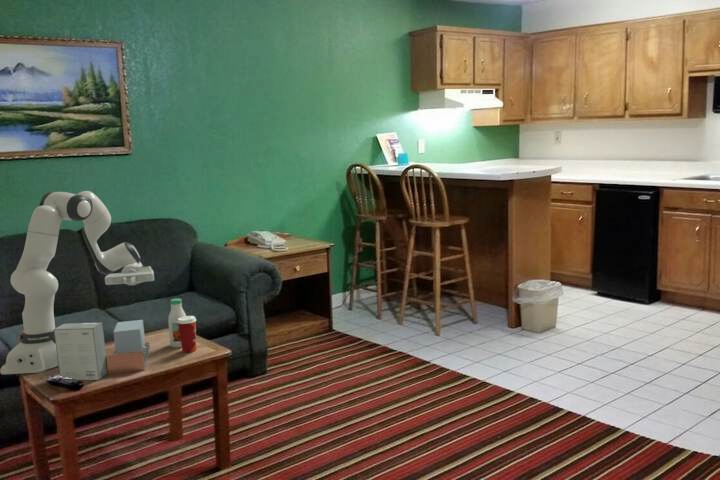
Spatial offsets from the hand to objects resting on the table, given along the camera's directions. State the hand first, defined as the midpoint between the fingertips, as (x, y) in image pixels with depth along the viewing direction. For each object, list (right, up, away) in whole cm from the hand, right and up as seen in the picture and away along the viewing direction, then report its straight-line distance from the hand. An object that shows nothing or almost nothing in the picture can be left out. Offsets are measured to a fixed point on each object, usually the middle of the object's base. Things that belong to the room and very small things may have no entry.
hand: (128, 281), depth 276 cm
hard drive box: (-5, -34, -32) cm, 47 cm away
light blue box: (+4, -26, -10) cm, 28 cm away
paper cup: (+27, -28, -7) cm, 40 cm away
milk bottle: (+21, -27, +1) cm, 35 cm away
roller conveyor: (+6, -30, -14) cm, 34 cm away
